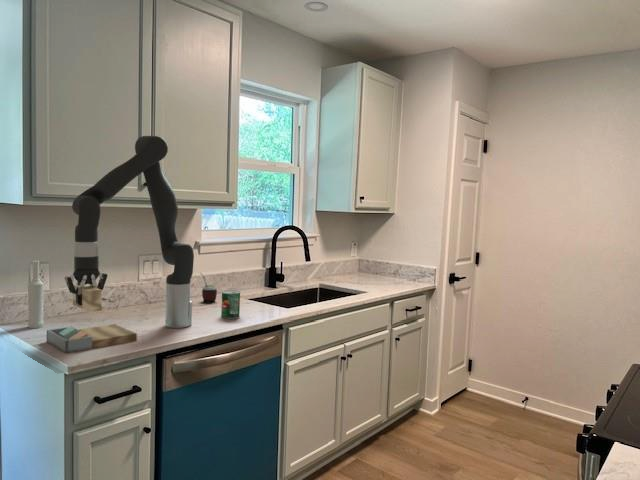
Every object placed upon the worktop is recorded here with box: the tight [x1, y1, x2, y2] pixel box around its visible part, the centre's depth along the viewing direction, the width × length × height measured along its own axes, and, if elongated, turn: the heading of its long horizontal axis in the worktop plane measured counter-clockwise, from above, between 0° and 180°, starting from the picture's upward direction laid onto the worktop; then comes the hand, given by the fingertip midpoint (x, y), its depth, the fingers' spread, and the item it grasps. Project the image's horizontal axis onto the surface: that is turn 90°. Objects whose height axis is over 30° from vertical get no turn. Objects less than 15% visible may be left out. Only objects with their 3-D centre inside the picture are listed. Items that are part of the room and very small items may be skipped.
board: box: [77, 323, 138, 349], centre depth 175 cm, size 16×17×2 cm
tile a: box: [59, 325, 78, 340], centre depth 171 cm, size 4×4×2 cm
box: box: [46, 326, 93, 354], centre depth 167 cm, size 8×17×4 cm, turn 47°
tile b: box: [69, 331, 88, 340], centre depth 165 cm, size 4×4×2 cm
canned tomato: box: [220, 289, 241, 320], centre depth 217 cm, size 8×8×11 cm
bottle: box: [27, 260, 45, 329], centre depth 186 cm, size 5×5×25 cm
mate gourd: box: [199, 272, 218, 304], centre depth 245 cm, size 8×8×15 cm
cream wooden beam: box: [72, 284, 102, 313], centre depth 170 cm, size 4×14×7 cm, turn 47°
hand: (86, 304), depth 170 cm, fingers closed on cream wooden beam, 4 cm apart
